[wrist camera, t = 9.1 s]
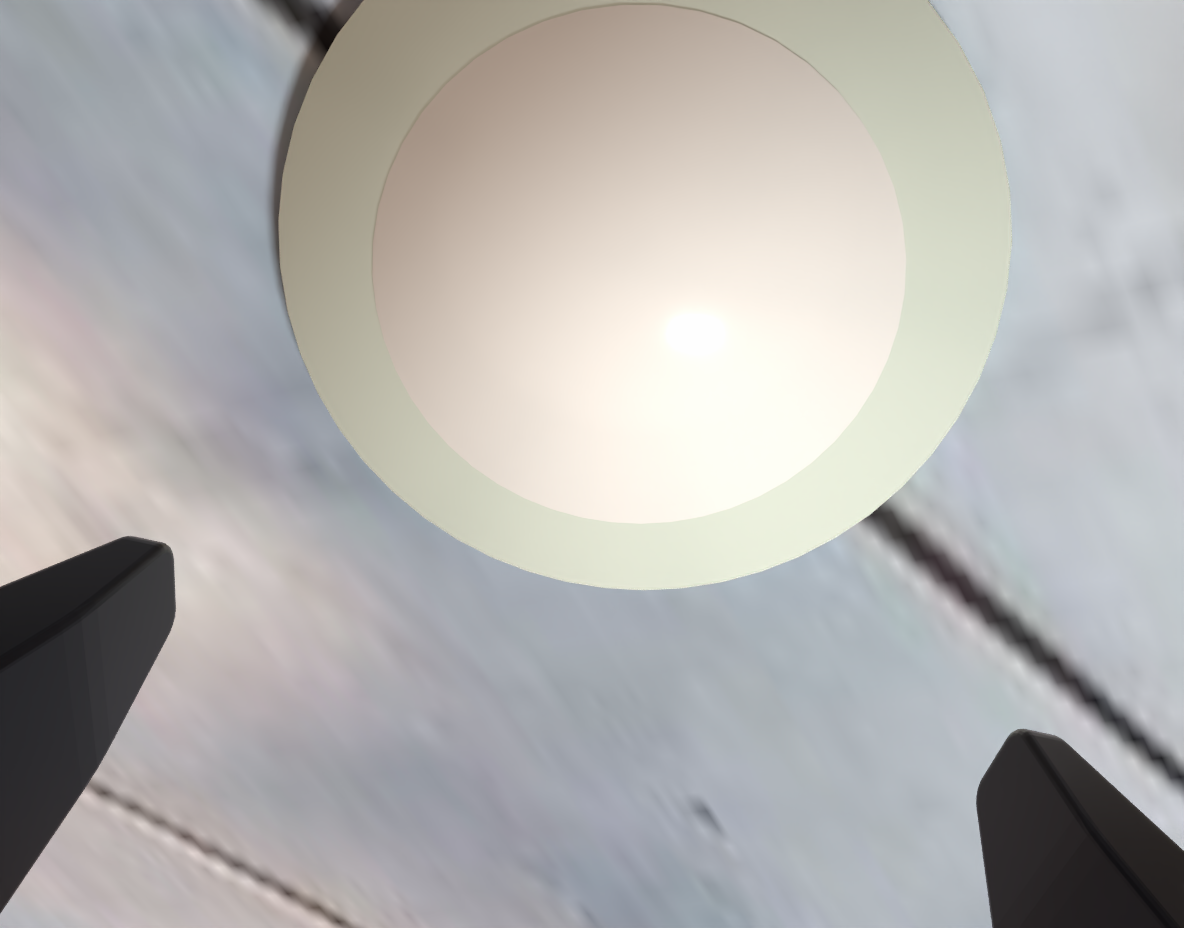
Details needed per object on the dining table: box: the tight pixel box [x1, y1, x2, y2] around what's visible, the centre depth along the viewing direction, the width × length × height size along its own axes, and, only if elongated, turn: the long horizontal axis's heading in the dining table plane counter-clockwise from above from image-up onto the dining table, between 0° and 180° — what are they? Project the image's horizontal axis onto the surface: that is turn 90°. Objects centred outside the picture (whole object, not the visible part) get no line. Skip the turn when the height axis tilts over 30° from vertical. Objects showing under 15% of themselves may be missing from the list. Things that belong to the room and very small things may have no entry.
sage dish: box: [278, 0, 1012, 590], centre depth 19 cm, size 15×15×1 cm
